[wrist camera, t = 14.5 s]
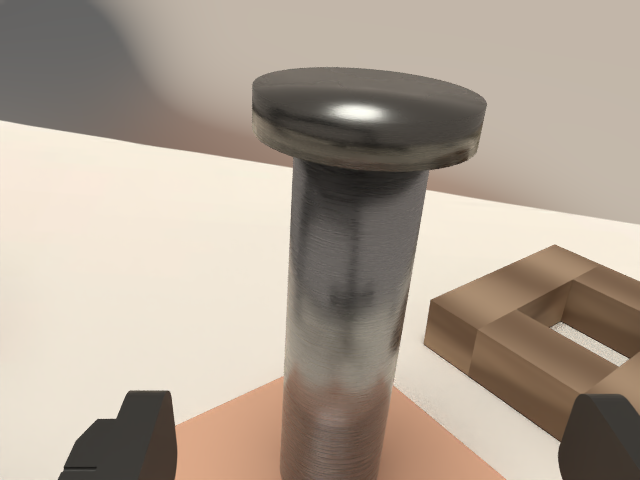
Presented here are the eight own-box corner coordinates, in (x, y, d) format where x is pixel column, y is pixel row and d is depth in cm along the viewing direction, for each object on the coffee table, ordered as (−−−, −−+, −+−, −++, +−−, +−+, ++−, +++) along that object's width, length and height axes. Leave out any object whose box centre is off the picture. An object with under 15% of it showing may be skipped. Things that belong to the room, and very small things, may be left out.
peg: (311, 577, 18) (355, 135, 11) (221, 449, 22) (210, 74, 15) (440, 484, 22) (535, 105, 15) (340, 389, 26) (376, 63, 19)
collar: (635, 495, 22) (659, 443, 21) (423, 343, 31) (430, 299, 29) (743, 381, 29) (766, 336, 28) (544, 282, 37) (554, 244, 36)
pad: (292, 703, 16) (292, 689, 15) (149, 452, 23) (147, 438, 23) (519, 507, 22) (523, 493, 21) (346, 358, 29) (346, 347, 29)
